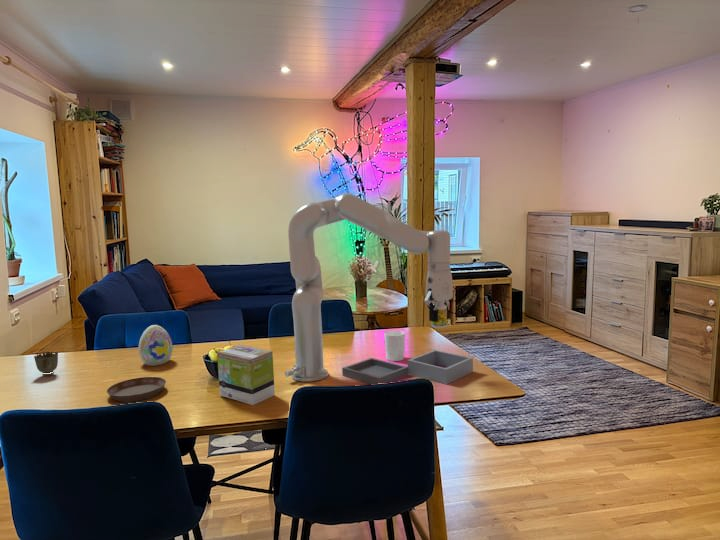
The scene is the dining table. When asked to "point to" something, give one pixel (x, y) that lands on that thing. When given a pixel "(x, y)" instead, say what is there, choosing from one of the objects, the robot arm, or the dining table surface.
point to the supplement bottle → (440, 316)
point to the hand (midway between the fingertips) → (438, 319)
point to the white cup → (394, 345)
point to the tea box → (246, 374)
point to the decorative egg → (155, 346)
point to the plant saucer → (136, 389)
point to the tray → (375, 371)
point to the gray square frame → (453, 362)
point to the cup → (46, 362)
